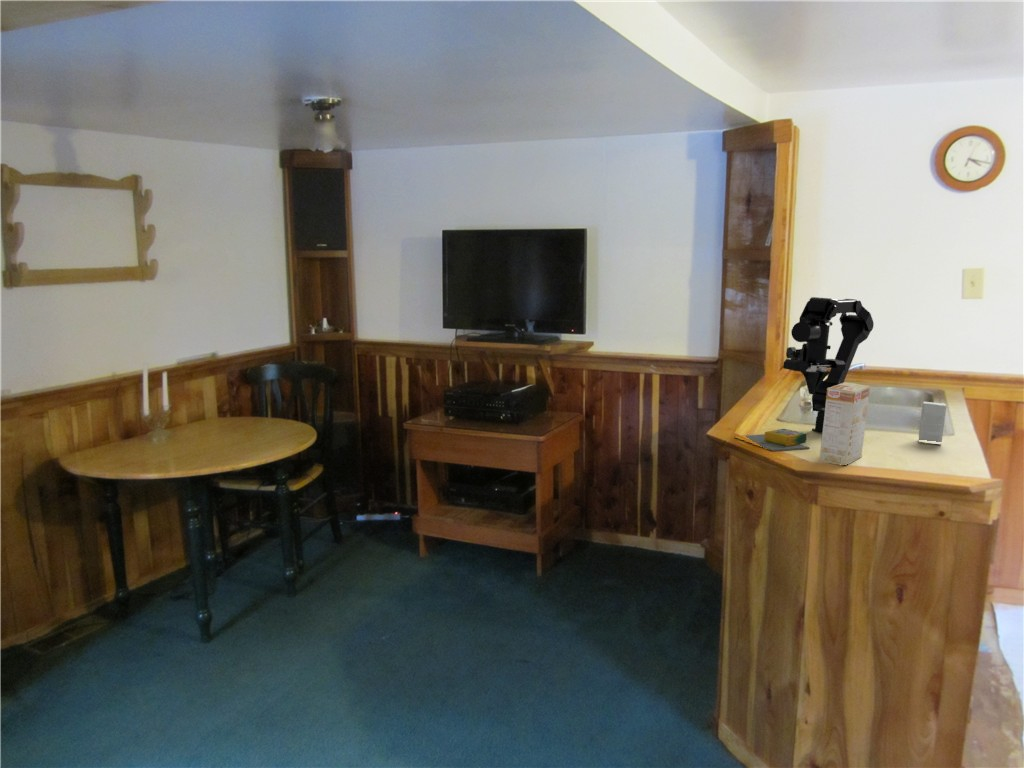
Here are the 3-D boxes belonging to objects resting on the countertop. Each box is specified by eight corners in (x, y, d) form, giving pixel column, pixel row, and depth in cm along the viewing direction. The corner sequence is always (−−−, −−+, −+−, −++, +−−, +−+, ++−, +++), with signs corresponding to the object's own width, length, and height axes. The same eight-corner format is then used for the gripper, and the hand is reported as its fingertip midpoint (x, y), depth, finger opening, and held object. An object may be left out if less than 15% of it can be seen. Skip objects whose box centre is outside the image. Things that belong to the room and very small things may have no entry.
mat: (769, 435, 227) (769, 434, 227) (809, 449, 213) (809, 447, 213) (733, 437, 222) (733, 436, 222) (772, 451, 208) (772, 449, 208)
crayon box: (807, 432, 217) (784, 437, 210) (806, 443, 218) (783, 448, 210) (784, 427, 223) (760, 432, 216) (783, 437, 223) (759, 442, 216)
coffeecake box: (835, 451, 211) (843, 381, 208) (862, 457, 207) (871, 385, 204) (817, 461, 200) (826, 387, 197) (846, 466, 195) (855, 391, 192)
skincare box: (940, 443, 229) (945, 403, 227) (941, 445, 226) (947, 405, 224) (917, 440, 232) (922, 401, 230) (918, 442, 228) (923, 403, 226)
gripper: (820, 338, 234) (815, 388, 237) (772, 337, 227) (767, 390, 229) (849, 342, 224) (843, 395, 227) (800, 342, 217) (794, 396, 219)
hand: (811, 394), depth 226 cm, fingers closed
